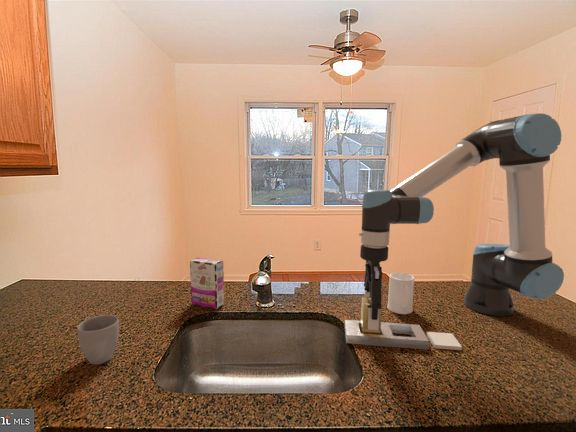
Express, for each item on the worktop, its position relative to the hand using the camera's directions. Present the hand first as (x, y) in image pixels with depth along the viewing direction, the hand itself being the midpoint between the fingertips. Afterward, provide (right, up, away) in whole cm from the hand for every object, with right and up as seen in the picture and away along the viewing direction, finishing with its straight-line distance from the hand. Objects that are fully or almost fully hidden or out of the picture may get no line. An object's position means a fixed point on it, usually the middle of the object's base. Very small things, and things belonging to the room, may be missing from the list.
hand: (370, 320), depth 89 cm
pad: (+20, -6, -2) cm, 21 cm away
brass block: (0, -5, +1) cm, 5 cm away
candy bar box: (-53, -2, +21) cm, 57 cm away
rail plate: (+4, -5, 0) cm, 6 cm away
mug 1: (-72, -6, -9) cm, 73 cm away
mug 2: (+15, -3, +18) cm, 24 cm away
